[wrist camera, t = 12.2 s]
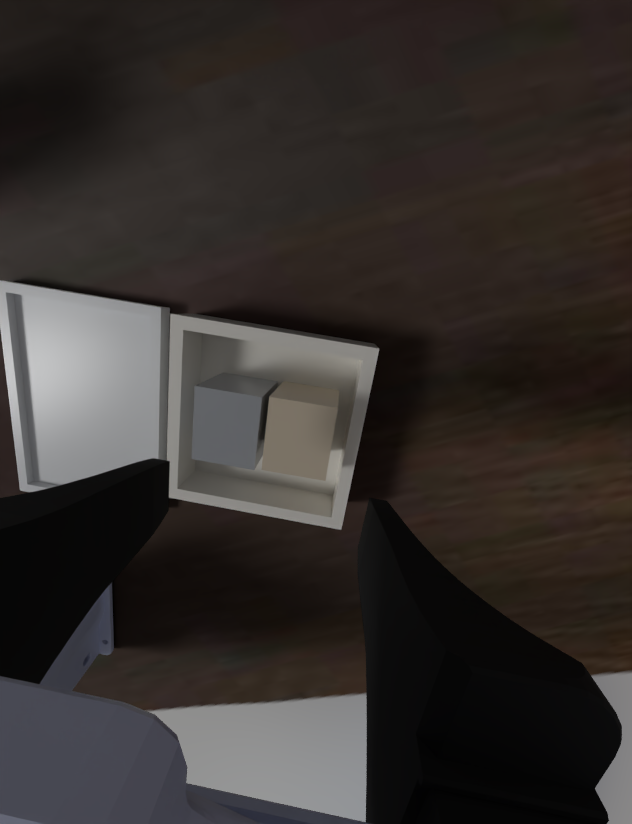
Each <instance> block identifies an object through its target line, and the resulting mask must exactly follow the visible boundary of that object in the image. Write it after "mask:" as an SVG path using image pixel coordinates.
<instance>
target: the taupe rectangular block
mask: <svg viewBox="0 0 632 824" xmlns="http://www.w3.org/2000/svg"><path fill="white" fill-rule="evenodd" d="M338 401H339V390H336V389H330V388H324V387H317V386H311V385H305V384H299V383H293V382H287V381H283V382H282V383H281V385H280V386H279V387H278V388H277V389H276V390H275V391H274V392H273V393H272V394H271V395H270V397H269V404H268V413H267V423H266V432H265V441H264V450H263V460H262V469H261V470H265V471H271V472H276V473H282V474H288V475H294V476H300V477H305V478H311V479H317V480H323V481H325V480H326V474H327V469H328V463H329V457H330V451H331V446H332V440H333V434H334V428H335V422H336V417H337V411H338Z"/></svg>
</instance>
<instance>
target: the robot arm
mask: <svg viewBox="0 0 632 824" xmlns="http://www.w3.org/2000/svg"><path fill="white" fill-rule="evenodd" d="M169 472H170V461H166V460H161V459H155V458H152V459H147V460H143V461H139V462H136V463H132V464H129V465H126V466H123V467H120V468H117V469H113V470H110V471H107V472H104V473H101V474H98V475H94V476H91V477H88V478H84V479H81V480H77V481H74V482H70V483H67V484H63V485H59V486H56V487H52V488H48V489H43V490H39V491H34V492H30V493H25V494H20V495H15V496H10V497H4V498H0V824H607V822H608V821H609V820H608V814H607V811H606V809H605V808H604V806H603V804H602V802H601V800H600V798H599V796H598V794H597V792H596V790H595V787H596V785H597V784H598V782H599V781H600V779H601V778H602V776H603V774H604V773H605V772H606V770H607V769H608V767H609V765H610V764H611V763H612V761H613V759H614V758H615V756H616V753H617V751H618V749H619V747H620V744H621V740H622V738H621V737H622V726H621V723H620V721H619V719H618V716H617V714H616V712H615V711H614V709H613V708H612V706H611V705H610V703H609V702H608V700H607V699H606V697H605V696H604V695H603V693H602V691H601V690H600V689H599V687H598V686H597V684H596V683H595V681H594V680H593V678H592V677H591V675H590V674H589V672H588V671H587V670H586V668H585V667H584V665H583V664H582V663H581V662H579V661H577V660H576V659H574V658H572V657H570V656H569V655H567V654H565V653H564V652H562V651H560V650H559V649H557V648H555V647H553V646H552V645H550V644H548V643H547V642H545V641H543V640H541V639H540V638H538V637H536V636H535V635H533V634H532V633H530V632H528V631H527V630H525V629H524V628H522V627H521V626H519V625H518V624H516V623H515V622H513V621H512V620H510V619H509V618H507V617H506V616H504V615H503V614H502V613H500V612H499V611H497V610H496V609H495V608H493V607H492V606H491V605H489V604H488V603H487V602H485V601H484V600H483V599H481V598H480V597H479V596H478V595H476V594H475V593H474V592H472V591H471V590H470V589H469V588H467V587H466V586H465V585H464V584H463V583H461V582H460V581H459V580H458V579H457V578H456V577H455V576H454V575H453V574H451V573H450V572H449V571H448V570H447V569H446V568H445V567H444V566H443V565H442V564H441V563H440V562H439V561H438V560H437V559H436V558H435V557H434V556H433V555H432V554H431V553H430V552H429V551H428V550H427V549H426V548H425V547H424V546H423V545H422V543H421V542H420V541H419V540H418V539H417V538H416V537H415V535H414V534H413V533H412V532H411V531H410V529H409V528H408V527H407V526H406V524H405V523H404V522H403V521H402V519H401V518H400V517H399V516H398V514H397V513H396V512H395V510H394V509H393V508H392V507H391V505H390V504H389V503H388V502H387V501H384V500H379V499H373V498H369V502H368V507H367V511H366V515H365V520H364V524H363V528H362V532H361V537H360V541H359V545H358V580H359V590H360V599H361V608H362V617H363V626H364V635H365V647H366V681H367V788H366V789H367V790H366V791H367V792H366V793H367V794H366V822H361V821H357V820H352V819H348V818H343V817H339V816H334V815H329V814H325V813H320V812H316V811H311V810H306V809H301V808H297V807H293V806H288V805H284V804H279V803H274V802H269V801H265V800H261V799H256V798H252V797H247V796H242V795H238V794H233V793H229V792H224V791H219V790H215V789H210V788H206V787H201V786H197V785H192V784H187V783H186V777H187V765H186V762H185V759H184V756H183V753H182V749H181V747H180V743H179V740H178V737H177V735H176V734H175V733H174V732H173V731H172V730H171V729H170V728H168V727H167V726H166V725H165V724H164V723H163V722H162V721H161V720H160V719H159V718H158V717H157V716H156V715H154V714H152V713H149V712H147V711H144V710H142V709H140V708H137V707H135V706H132V705H130V704H127V703H125V702H121V701H116V700H111V699H106V698H102V697H97V696H92V695H88V694H83V693H78V692H73V691H72V690H73V689H74V687H75V686H76V684H77V683H78V682H79V680H80V679H81V678H82V676H83V675H84V673H85V672H86V671H87V669H88V668H89V667H90V665H91V664H92V662H93V661H94V660H95V658H96V657H97V655H98V654H104V655H109V654H111V653H112V651H113V650H114V633H113V602H112V581H113V580H114V579H115V578H116V577H117V576H118V575H119V573H120V572H121V571H122V570H123V569H124V568H125V566H126V565H127V564H128V563H129V562H130V561H131V560H132V558H133V557H134V556H135V555H136V554H137V553H138V552H139V550H140V549H141V548H142V547H143V546H144V544H145V543H146V542H147V541H148V540H149V539H150V537H151V536H152V535H153V534H154V532H155V531H156V529H157V528H158V526H159V525H160V523H161V522H162V520H163V518H164V517H165V515H166V514H167V512H168V507H169Z"/></svg>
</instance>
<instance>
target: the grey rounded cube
mask: <svg viewBox="0 0 632 824" xmlns="http://www.w3.org/2000/svg"><path fill="white" fill-rule="evenodd" d="M277 385H278V381H272V380H266V379H260V378H254V377H248V376H242V375H236V374H230V373H224V372H223V373H221V374H219V375H217V376H214V377H212V378H210V379H208V380H206V381H204V382H202V383H200V384H198V385H195V391H194V413H193V435H192V458H191V459H195V460H200V461H206V462H211V463H217V464H223V465H228V466H234V467H239V468H245V469H251V470H255V468H256V466H257V465H258V463H259V461H260V459H261V458H262V456H263V450H264V441H265V432H266V423H267V413H268V404H269V397H270V395H271V394H272V393H273V392H274V391H275V390H276V389H277Z"/></svg>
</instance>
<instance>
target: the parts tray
mask: <svg viewBox="0 0 632 824" xmlns="http://www.w3.org/2000/svg"><path fill="white" fill-rule="evenodd" d="M169 323H170V308H168V307H162V306H156V305H150V304H144V303H138V302H132V301H126V300H120V299H114V298H108V297H102V296H96V295H90V294H84V293H78V292H72V291H66V290H60V289H54V288H48V287H42V286H36V285H30V284H24V283H18V282H12V281H3V280H0V329H1V337H2V345H3V353H4V362H5V370H6V378H7V386H8V395H9V403H10V411H11V419H12V428H13V436H14V444H15V452H16V460H17V469H18V477H19V485H20V490H21V491H27V492H34V491H39V490H43V489H48V488H52V487H56V486H59V485H63V484H67V483H70V482H74V481H77V480H81V479H84V478H88V477H91V476H94V475H98V474H101V473H104V472H107V471H110V470H113V469H117V468H120V467H123V466H126V465H129V464H132V463H136V462H139V461H143V460H147V459H152V458H155V459H161V460H166V443H167V403H168V363H169Z"/></svg>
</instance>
